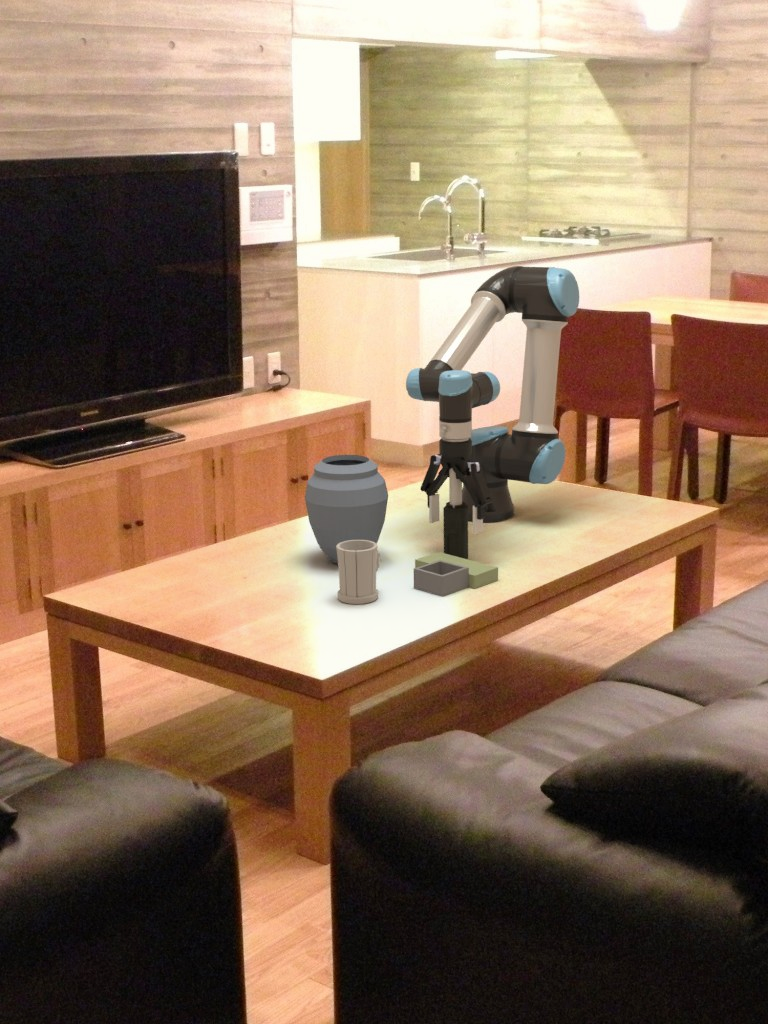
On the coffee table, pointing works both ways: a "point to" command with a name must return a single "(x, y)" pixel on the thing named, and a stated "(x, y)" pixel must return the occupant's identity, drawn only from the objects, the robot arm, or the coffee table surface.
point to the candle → (455, 520)
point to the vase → (345, 501)
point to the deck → (451, 574)
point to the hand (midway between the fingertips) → (455, 527)
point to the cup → (357, 571)
